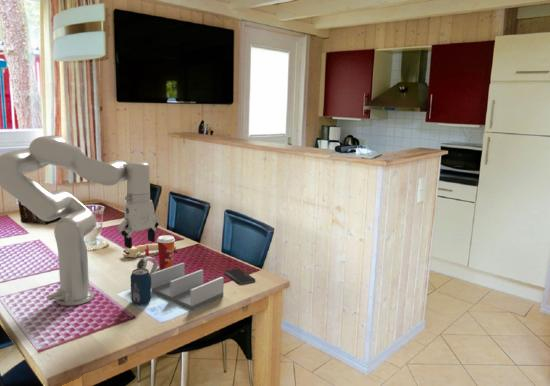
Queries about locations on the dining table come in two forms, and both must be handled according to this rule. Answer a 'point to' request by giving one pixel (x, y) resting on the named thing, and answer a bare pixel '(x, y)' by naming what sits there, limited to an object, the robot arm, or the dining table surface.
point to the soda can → (140, 286)
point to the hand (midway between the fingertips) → (140, 244)
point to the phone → (239, 276)
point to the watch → (143, 264)
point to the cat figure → (141, 249)
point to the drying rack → (185, 286)
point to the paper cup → (165, 251)
